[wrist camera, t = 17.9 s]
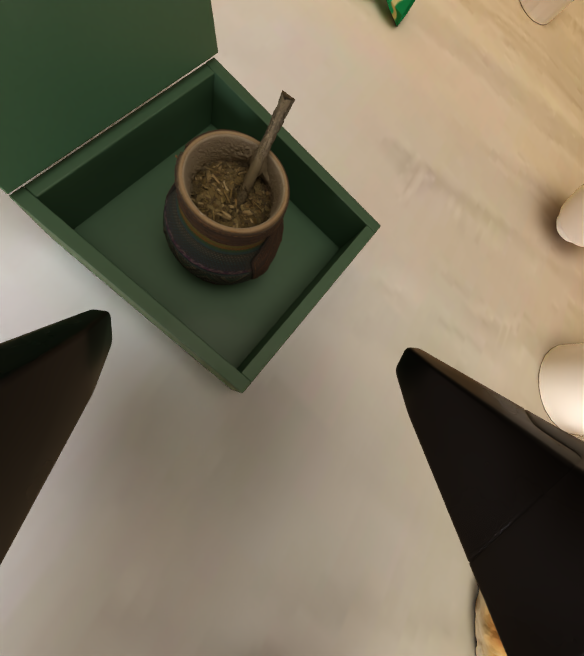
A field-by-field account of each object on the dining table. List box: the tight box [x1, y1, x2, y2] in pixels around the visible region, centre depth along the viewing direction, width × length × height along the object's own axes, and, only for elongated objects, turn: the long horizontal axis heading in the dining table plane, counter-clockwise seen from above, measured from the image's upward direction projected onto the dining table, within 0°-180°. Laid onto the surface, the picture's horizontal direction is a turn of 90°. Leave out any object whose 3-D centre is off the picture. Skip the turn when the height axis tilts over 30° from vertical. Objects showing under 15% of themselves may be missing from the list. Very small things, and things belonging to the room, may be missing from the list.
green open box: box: [9, 58, 380, 393], centre depth 21 cm, size 15×15×5 cm
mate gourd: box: [163, 90, 295, 285], centre depth 18 cm, size 7×8×10 cm
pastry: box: [475, 589, 507, 656], centre depth 24 cm, size 9×7×4 cm
